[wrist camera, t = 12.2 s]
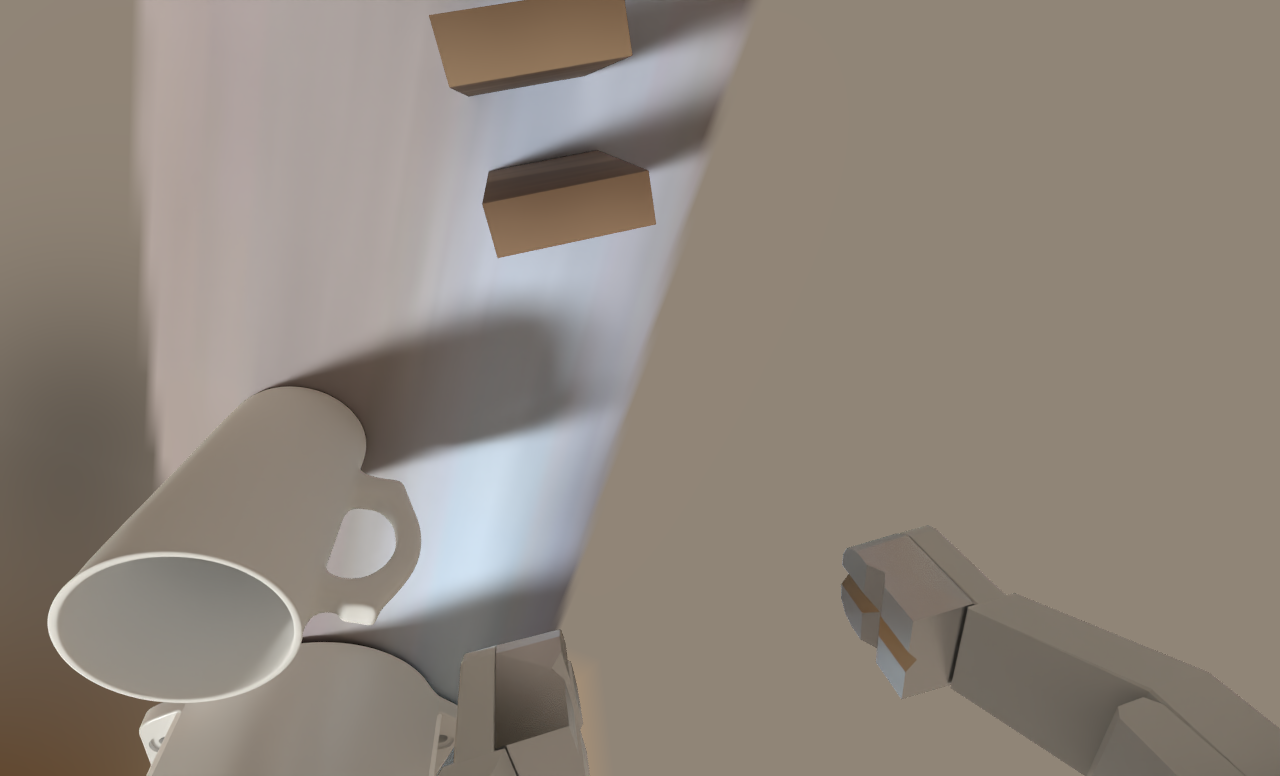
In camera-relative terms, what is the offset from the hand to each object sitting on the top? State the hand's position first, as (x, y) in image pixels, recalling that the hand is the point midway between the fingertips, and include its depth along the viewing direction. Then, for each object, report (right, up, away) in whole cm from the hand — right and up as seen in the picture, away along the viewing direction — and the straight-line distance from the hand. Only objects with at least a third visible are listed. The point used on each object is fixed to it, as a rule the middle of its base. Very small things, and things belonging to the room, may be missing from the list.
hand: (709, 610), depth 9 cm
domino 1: (-6, +17, +14) cm, 23 cm away
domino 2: (-5, +13, +16) cm, 22 cm away
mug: (-17, +1, +20) cm, 26 cm away
